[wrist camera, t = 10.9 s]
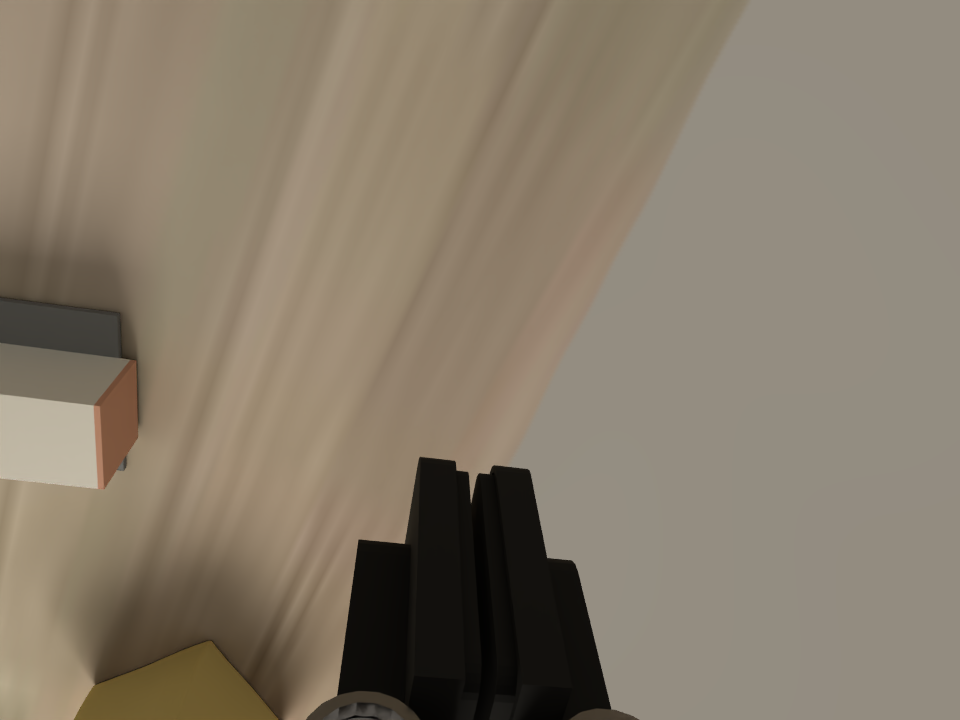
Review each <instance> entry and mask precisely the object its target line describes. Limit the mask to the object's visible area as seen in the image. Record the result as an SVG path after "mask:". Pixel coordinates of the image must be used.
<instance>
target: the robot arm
mask: <svg viewBox="0 0 960 720" xmlns="http://www.w3.org/2000/svg"><path fill="white" fill-rule="evenodd" d="M306 720H639V719H637V718H635V717H634V716H631V715H628V714H625V713H622V712H619V711H617V710H611V706H610V702H609V698H608V694H607V689H606V685H605V681H604V677H603V673H602V669H601V665H600V661H599V656H598V652H597V649H596V644H595V640H594V636H593V632H592V628H591V624H590V619H589V615H588V612H587V607H586V603H585V599H584V595H583V591H582V586H581V583H580V578H579V574H578V571H577V568H576V565H575V564H574V562H573V561H571V560H561V559H551V558H547V555H546V550H545V545H544V540H543V535H542V530H541V525H540V520H539V514H538V510H537V504H536V499H535V494H534V489H533V484H532V479H531V474H530V471H529V470H528V469H520V468H513V467H504V466H495V465H494V466H493V467H492V469H491V471H490V474H481V473H479V474H478V476H477V479H476V483H475V488H474V493H473V498H472V503H471V500H470V485H469V473H468V472H463V471H456V462H455V461H451V460H443V459H434V458H425V457H420V458H419V462H418V467H417V473H416V479H415V485H414V491H413V497H412V503H411V509H410V516H409V522H408V528H407V534H406V540H405V544H399V543H389V542H379V541H369V540H359V541H358V548H357V555H356V562H355V570H354V577H353V584H352V592H351V599H350V606H349V614H348V621H347V628H346V635H345V643H344V650H343V657H342V665H341V672H340V679H339V687H338V694H337V696H336V697H334V698H332V699H330V700H328V701H326V702H324V703H322V704H321V705H320V706H319V707H318V708H317V709H316V710H315V711H314V712H312V713H311V714H310V715H309V716H308V717H307V719H306Z"/></svg>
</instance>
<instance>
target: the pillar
mask: <svg viewBox="0 0 960 720" xmlns="http://www.w3.org/2000/svg"><path fill="white" fill-rule="evenodd" d="M137 438H138V411H137V369H136V360H129V359H122V358H114V357H106V356H98V355H91V354H83V353H75V352H67V351H59V350H52V349H44V348H36V347H28V346H21V345H13V344H5V343H0V478H2V479H11V480H21V481H30V482H39V483H49V484H58V485H67V486H76V487H86V488H95V489H105V487H106V486H107V484H108V483H109V481H110V480H111V478H112V476H113V475H114V473H115V472H116V470H117V469H118V467H119V466H120V464H121V463H122V461H123V460H124V458H125V457H126V455H127V454H128V452H129V450H130V449H131V447H132V446H133V444H134V443H135V441H136V440H137Z"/></svg>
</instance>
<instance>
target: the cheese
mask: <svg viewBox="0 0 960 720" xmlns="http://www.w3.org/2000/svg"><path fill="white" fill-rule="evenodd" d="M74 720H279V719H278V718H277V717H276V716H275V715H274V713H273V712H272V711H271V710H270V709H269V707H268V706H267V705H266V704H265V703H264V701H263V700H262V699H261V698H260V697H259V695H258V694H257V693H256V692H255V691H254V690H253V688H252V687H251V686H250V685H249V684H248V683H247V682H246V681H245V679H244V678H243V677H242V676H241V675H240V674H239V673H238V672H237V671H236V670H235V669H234V667H233V666H232V665H231V664H230V663H229V662H228V661H227V660H226V658H225V657H224V656H223V655H222V654H221V652H220V651H219V650H218V649H217V647H216V646H215V645H214V644H213V642H212V641H207V642H204V643H201V644H198V645H195V646H192V647H190V648H187V649H185V650H182V651H180V652H177V653H175V654H173V655H170V656H168V657H166V658H163V659H161V660H159V661H156V662H154V663H152V664H149V665H147V666H145V667H142V668H140V669H137V670H134V671H132V672H129V673H126V674H124V675H121V676H118V677H116V678H113V679H110V680H108V681H105V682H102V683H100V684H97V685H94V686H93V688H92V689H91V691H90V692H89V694H88V696H87V697H86V699H85V701H84V702H83V704H82V706H81V707H80V709H79V711H78V713H77V715H76V717H75V719H74Z"/></svg>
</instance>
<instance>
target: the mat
mask: <svg viewBox="0 0 960 720" xmlns="http://www.w3.org/2000/svg"><path fill="white" fill-rule="evenodd" d="M0 343H5V344H13V345H21V346H28V347H36V348H44V349H52V350H59V351H67V352H75V353H83V354H91V355H98V356H106V357H114V358H122V353H121V329H120V313H116V312H108V311H100V310H93V309H85V308H77V307H70V306H62V305H54V304H47V303H39V302H31V301H24V300H16V299H8V298H1V297H0ZM125 468H126V457H125V458H124V460H123V461H122V463H121V464H120V466H119V467H118V469H117V470H120V471H124V470H125Z"/></svg>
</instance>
